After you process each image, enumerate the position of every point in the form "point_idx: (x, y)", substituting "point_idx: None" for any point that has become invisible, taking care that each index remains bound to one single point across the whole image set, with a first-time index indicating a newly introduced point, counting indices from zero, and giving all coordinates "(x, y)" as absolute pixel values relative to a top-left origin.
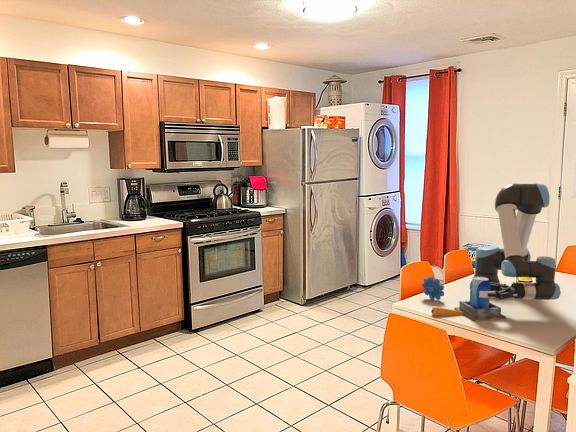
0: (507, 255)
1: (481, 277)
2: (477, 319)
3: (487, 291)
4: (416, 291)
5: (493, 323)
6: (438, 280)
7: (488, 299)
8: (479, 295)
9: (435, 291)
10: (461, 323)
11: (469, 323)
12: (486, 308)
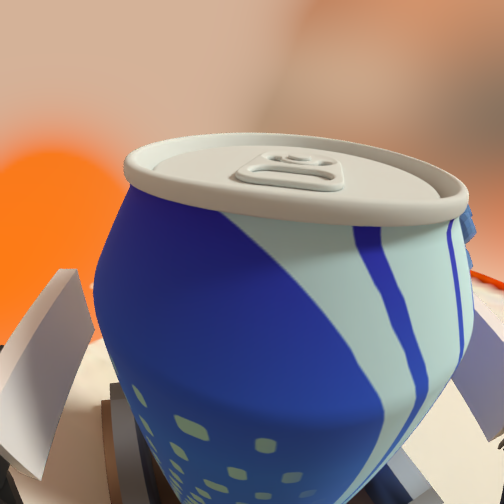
0: None
1: (444, 190)
2: (103, 423)
3: (23, 330)
4: (480, 274)
5: (55, 497)
6: (462, 222)
7: (177, 491)
8: (84, 314)
9: None
10: (91, 346)
11: (82, 376)
12: (139, 480)
